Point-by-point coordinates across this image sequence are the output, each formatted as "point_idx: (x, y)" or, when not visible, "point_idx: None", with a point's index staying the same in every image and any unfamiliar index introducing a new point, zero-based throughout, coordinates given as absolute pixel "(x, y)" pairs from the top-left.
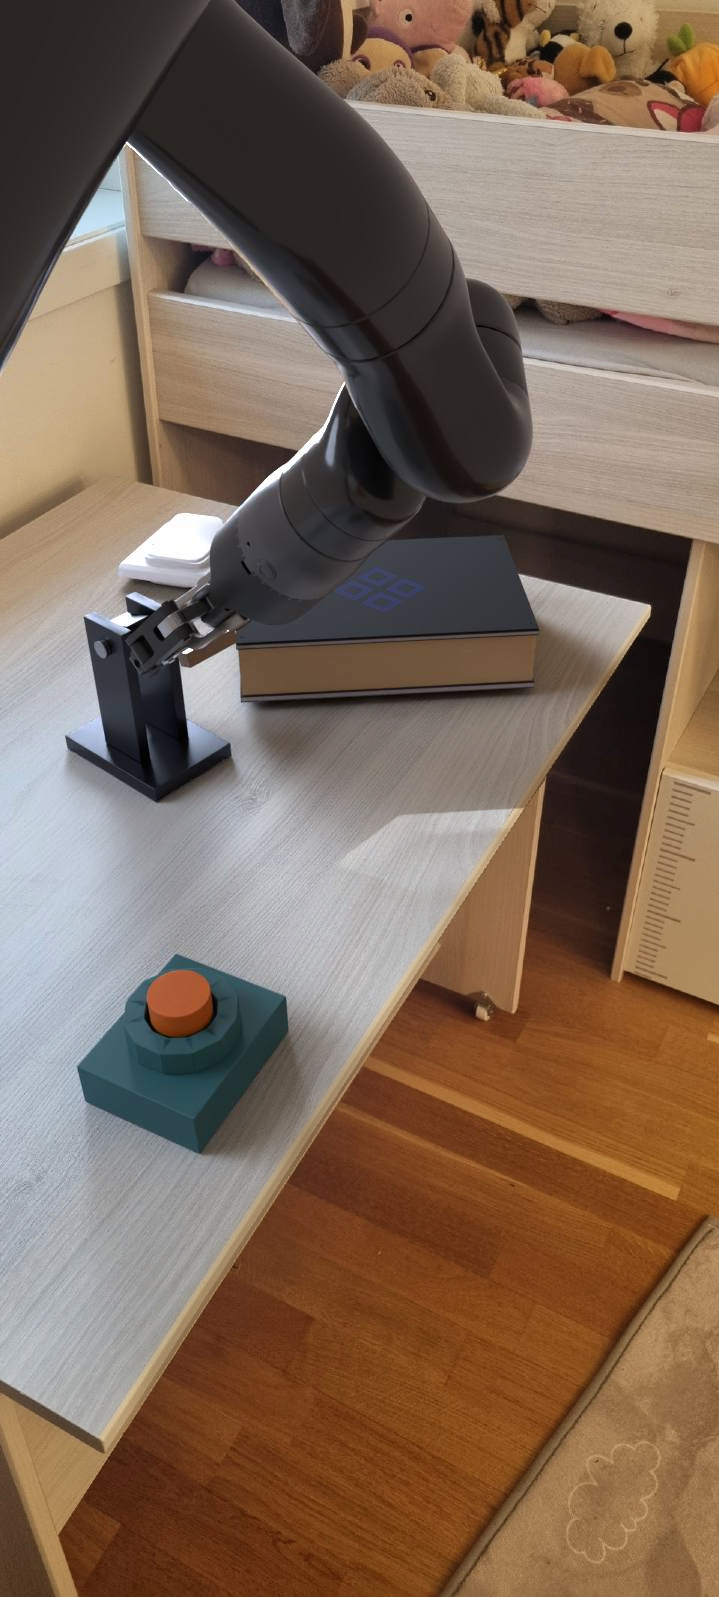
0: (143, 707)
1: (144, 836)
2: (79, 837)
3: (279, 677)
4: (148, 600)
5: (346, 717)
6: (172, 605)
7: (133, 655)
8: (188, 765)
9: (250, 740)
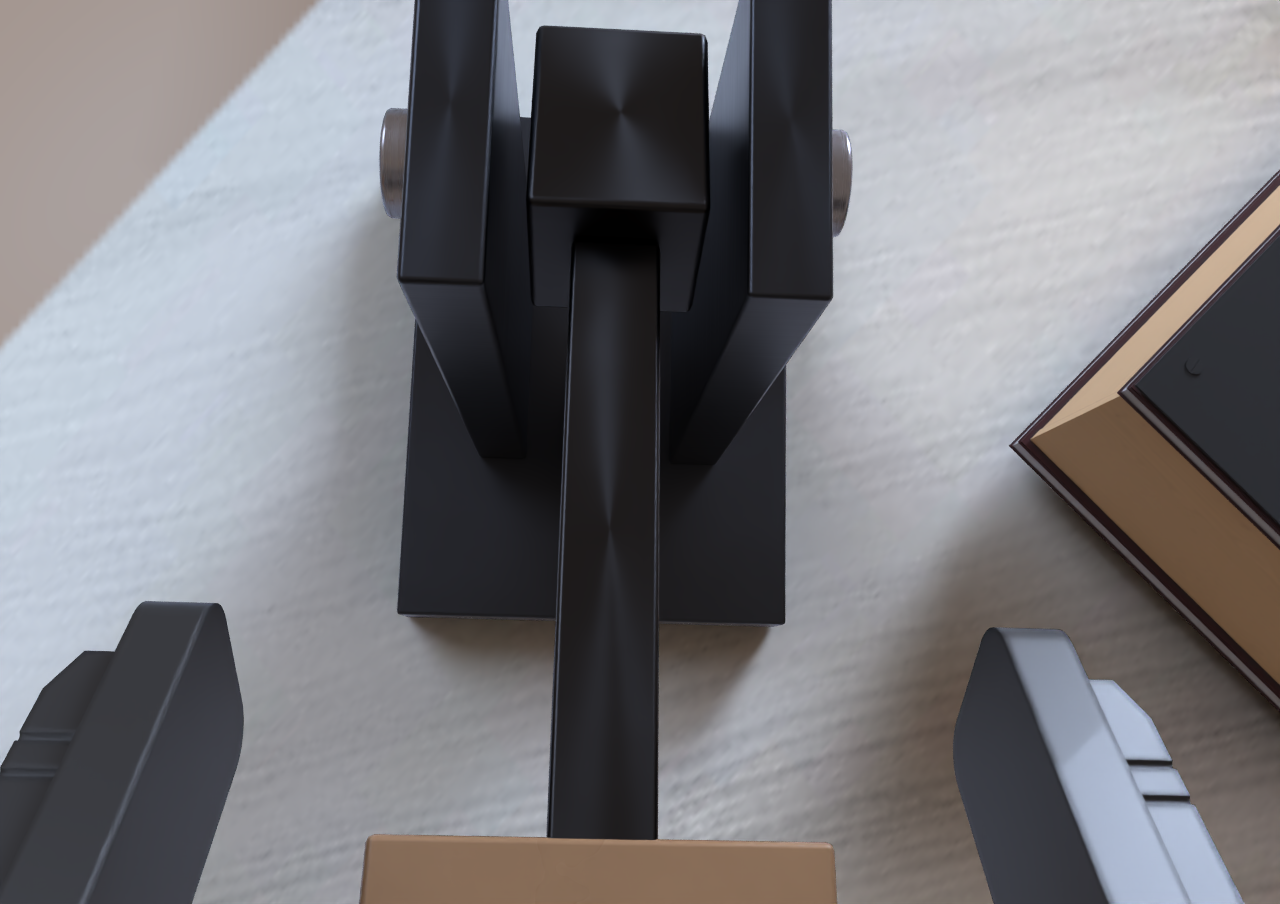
0: None
1: (246, 723)
2: (108, 548)
3: (1178, 542)
4: (808, 98)
5: (1234, 794)
6: None
7: (20, 740)
8: None
9: (888, 610)
